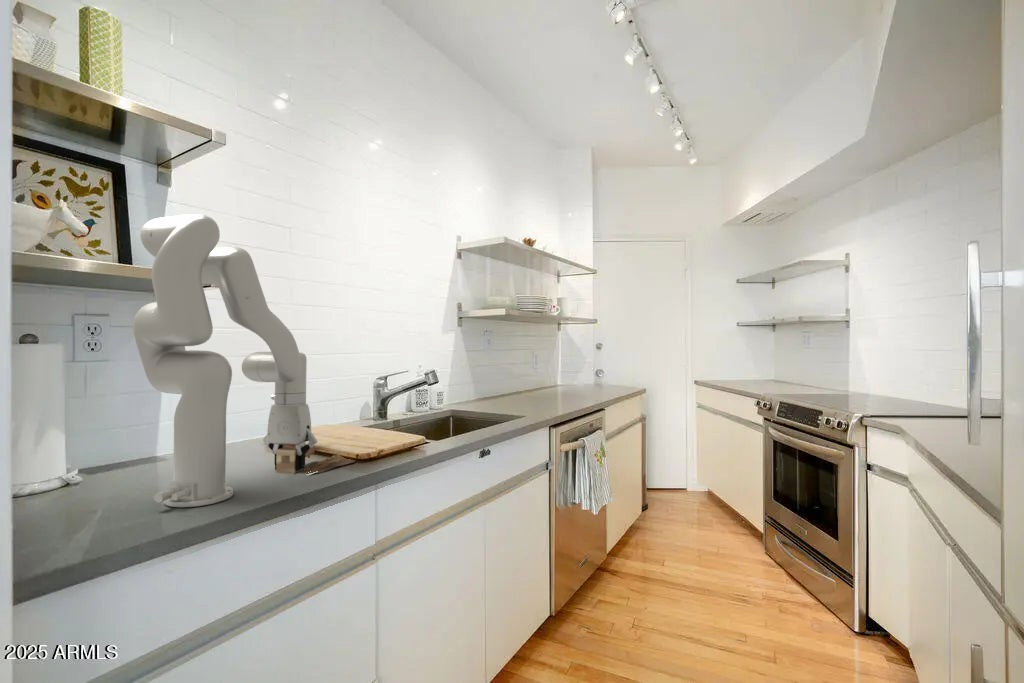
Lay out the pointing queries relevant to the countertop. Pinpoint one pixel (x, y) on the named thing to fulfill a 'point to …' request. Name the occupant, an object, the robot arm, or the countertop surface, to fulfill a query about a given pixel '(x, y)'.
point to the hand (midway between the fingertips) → (289, 468)
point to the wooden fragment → (328, 464)
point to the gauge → (289, 459)
